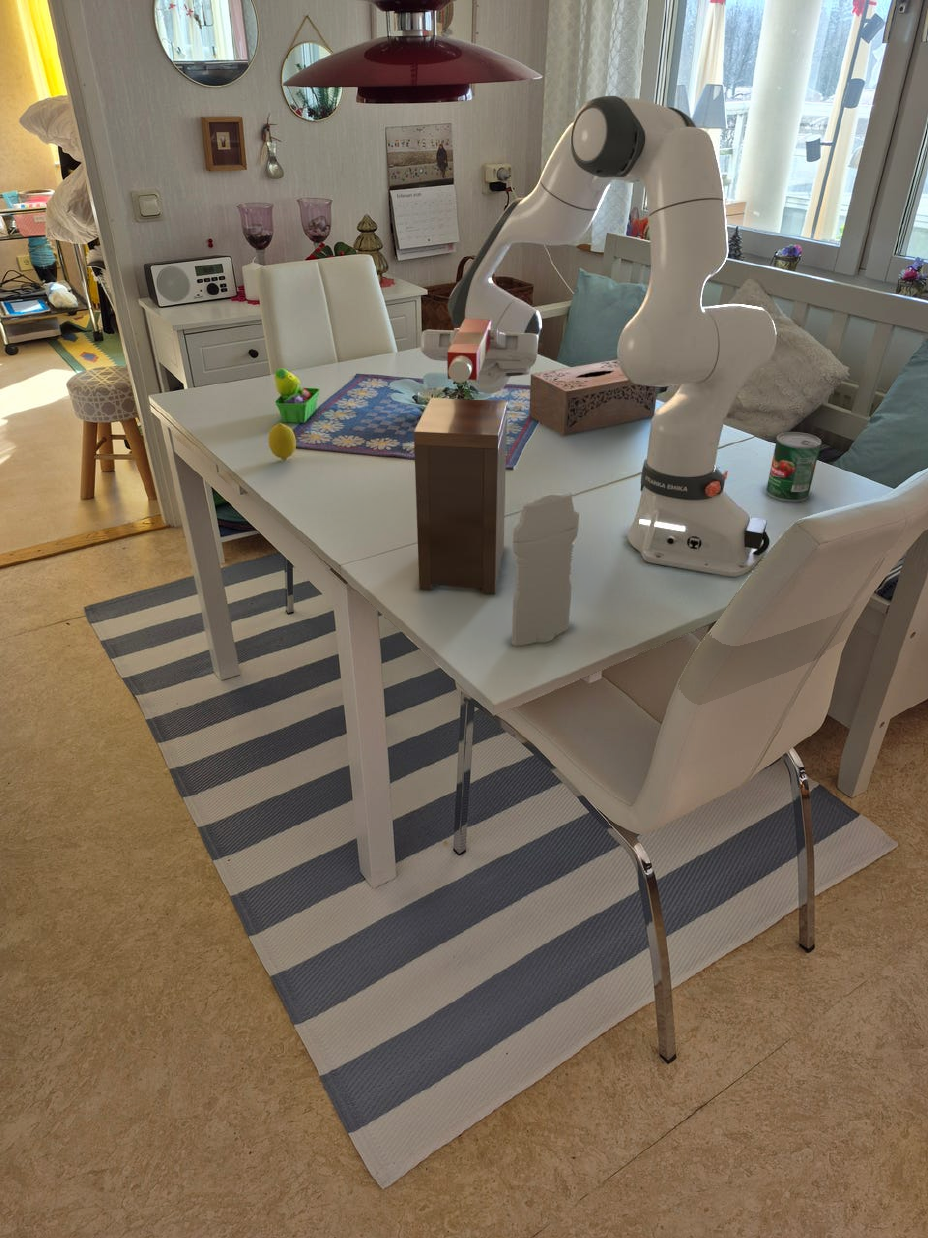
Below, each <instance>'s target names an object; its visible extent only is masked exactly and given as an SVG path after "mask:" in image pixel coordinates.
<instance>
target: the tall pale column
mask: <svg viewBox="0 0 928 1238" xmlns="http://www.w3.org/2000/svg"><path fill="white" fill-rule="evenodd" d="M579 520H580V512H578V511H577V510H576V509H575V506H574V501H573V494H572V492H561V493H553V494H551V493H550V494H546V495H544V496H543V495H542V496H541V497H539V498H535V499H533V500H530V501H527V502H526V503H523V506H522V511H521V515H520V517H519V522H518V523H517V524H516V526H515V527H513V530H512V531H513V532H512V533H513V534H512V551H513V554H515V556H516V557H515V569H516V570H515V580H516V581H515V594H514V597H513V601H512V624H511V625H512V627H511V628H512V630H511V645H512V646H514V647H515V646H516V647H523V646H526V645H527V646H528V645H530V644H532V645H533V644H535V643H548V642H550V641H553V640H554V639H555V637H556V636H558V635H560V634H563V633H564V632H566V631H568V629H569V628H570V614H571V604H572V603H571V602H572V589H573V588H572V587H573V586H572V580H571V574H572V562H573V552H574V547H575V544H574V542H575V540H576V539H577V537H578V534H579V533H578V531H579V522H580V521H579Z"/></svg>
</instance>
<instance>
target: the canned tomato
mask: <svg viewBox="0 0 928 1238" xmlns="http://www.w3.org/2000/svg"><path fill="white" fill-rule="evenodd" d="M821 445H822V440H821V439H820V438H819V437H818V436H816V435H813V434H811V433H805V432H799V431H786V432H782V433H780V434H778V435H777V436H776V441H775V446H774V451H773V455H772V461H771V464H770V465H771V466H770V470H769V474H768V479H767V484H766V488H765V492H766V495H768V496H769V497H770V498H773V499H775V500H778V501H781V502H790V503H798V502H803V501H806V500H807V499H808V498H809V496H810V490H811V486H812V483H813V478H814V474H815V470H816V466H817V461H818V458H819V453H820V450H821Z"/></svg>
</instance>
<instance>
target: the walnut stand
mask: <svg viewBox="0 0 928 1238" xmlns="http://www.w3.org/2000/svg"><path fill="white" fill-rule="evenodd" d="M507 431H508V400H498V399H497V400H495V399H473V398H472V399H470V398H468V399H467V398H445V397H444V398H443V397H430V399H429V401H428V402H427V405H426V407H425V409H424V411H423V412H422V414H421V417H420V419H419V420H418V422H417V424H416V426H415V428H414V430H413V446H414V447H413V448H414V474H415V476H414V477H415V478H414V479H415V503H416V505H415V507H416V533H417V535H416V536H417V561H418V562H417V563H418V589H419V591H432V590H433V588H434V586H443V587H457V588H458V587H459V588H473V589H474V588H475V589H482V594H483V595H484V594H485V595H496V591H497V585H498V581H499V575H500V572H501V571H500V570H501V565H502V560H503V556H504V550H505V549H504V548H505V513H506V511H505V509H506V479H507V477H506V476H507V473H506V472H507V471H506V470H507V435H508V432H507Z"/></svg>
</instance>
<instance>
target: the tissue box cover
mask: <svg viewBox="0 0 928 1238" xmlns="http://www.w3.org/2000/svg"><path fill="white" fill-rule="evenodd" d="M658 388H659V387H658V386H647V385H639V384H634V383H632V382H631V381H629V380H628V379H627V377H626V376H625V375H624V373H623V372H622V370H621V368H620V365H619V362H618V358H617V359H611V360H605V361H600V362H594V363H588V364H583V365H576V366H571V367H570V366H569V367H564V368H559V369H553V370H547V371H541V372H535V373H530V386H529V407H528V408H529V410H528V417H530V418H531V419H533V420H535V421H537V422H539V423H540V424H542V425H544V426H546V427H548V428H550V429H551V430H553V431H555V432H557V433H559V434H560V435H562V436H566V435H567V436H568V435H572V434H577V433H581V432H587V431H590V430H596V429H601V428H605V427H611V426H614V425H615V426H616V425H620V424H625V423H629V422H634V421H639V420H644V419H649V418H653V416H654V414H655V412H656V404H657V398H658V397H657V395H658Z"/></svg>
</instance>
